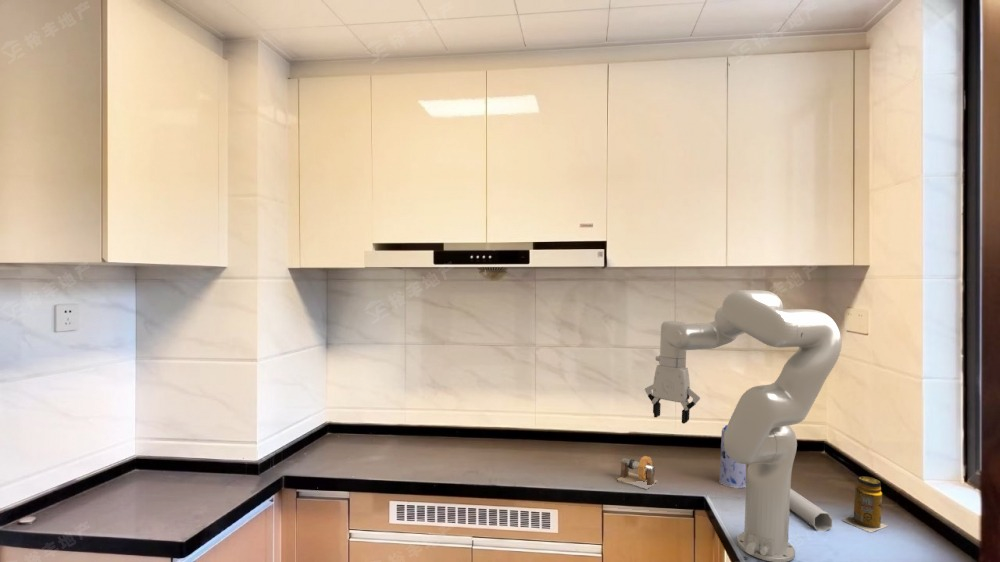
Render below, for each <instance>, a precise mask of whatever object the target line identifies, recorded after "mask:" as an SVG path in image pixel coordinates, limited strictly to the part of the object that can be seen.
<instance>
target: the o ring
mask: <svg viewBox="0 0 1000 562" xmlns="http://www.w3.org/2000/svg"><path fill="white" fill-rule="evenodd" d="M638 462H639V465H638V470H637V475H638V476H639V478H640V479H642V480H645V481H646V480H647V473H646V472H645V468H646V465H651V466H653V463H654V462H653V460H652V458H651V457H650V456H646V455H643V456H642V457H640V460H639V461H638Z"/></svg>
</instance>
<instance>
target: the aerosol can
mask: <svg viewBox="0 0 1000 562" xmlns="http://www.w3.org/2000/svg"><path fill="white" fill-rule="evenodd" d="M727 425H728V424H727ZM727 425H725V426H724V427H723V428H722V429H721V434H720V435H721V437H720V438H721V441H720V442H721V443H720V464H719V465H720V468H719V480H718V482H719V484H721V483H722V484H723V486H724V485H726V486H725V487H727V486H729V487H728V488H730V487H734V488H733V489H739V488H740V489H745V488H746V481H747V464H740V463H737V462H735V461H733V460H732V459H731V458H730V457H729V456H728V455H727V453H726V451H725V448H724V433H725V430H726V427H727ZM722 484H721V485H722ZM744 487H745V488H744Z"/></svg>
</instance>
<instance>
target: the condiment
mask: <svg viewBox="0 0 1000 562" xmlns="http://www.w3.org/2000/svg"><path fill="white" fill-rule="evenodd" d="M856 480H857V482H856V486H855V488H854V502H853V504H854V506H853V515H852V516H849V517H846V518H843V519H842V522H845V523H848V524H849V525H851V526H853V527H857V528H858V529H861V530H863V531H866V532H869V533H870V534H872V533H873V532H875V531H879V530H881V529H885V528H886V527H888V526H889V525H888V524H885V523H882V521H881V520H882V508H883V507H882V505H883V504H882V502H883V492H882V487H881V486H882V484H881V481H880V480H878V479H876V478H874V477H870V476H858V477H857V478H856Z"/></svg>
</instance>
